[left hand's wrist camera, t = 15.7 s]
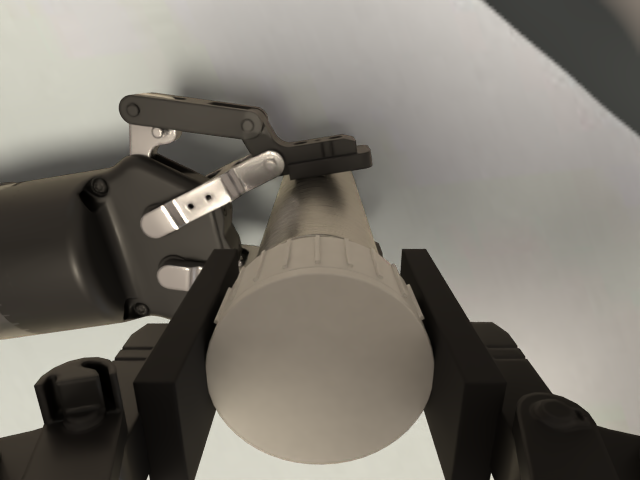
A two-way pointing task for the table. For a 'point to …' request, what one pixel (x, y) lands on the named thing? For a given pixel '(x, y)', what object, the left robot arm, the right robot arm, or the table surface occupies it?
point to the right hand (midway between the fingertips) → (373, 206)
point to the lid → (319, 353)
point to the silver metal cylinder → (318, 211)
